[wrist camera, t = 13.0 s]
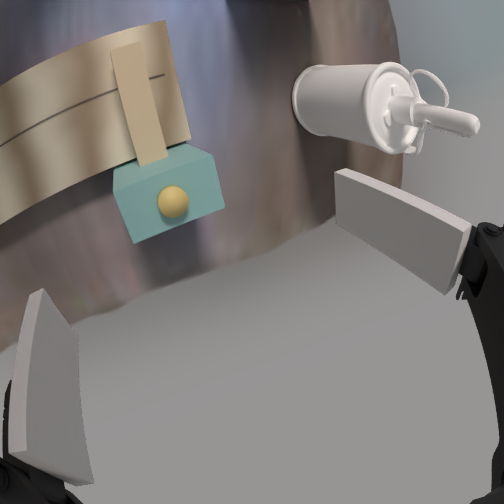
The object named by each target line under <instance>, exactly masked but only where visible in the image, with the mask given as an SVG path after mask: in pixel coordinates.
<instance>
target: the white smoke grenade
mask: <svg viewBox="0 0 504 504" xmlns="http://www.w3.org/2000/svg"><path fill="white" fill-rule="evenodd" d="M415 73H423V74H425V75H427V76H429V77H430V78H432V79H433V80H434V81H435V82H436V83H437V84H438V85H439V86H440V88H441V89H442V91H443V93H444V96H445V105H444V107H439V106H434V105H429V104H427V103H426V102H424V101H423V100H422V99H421V97H420V94H419V90H418V87H417V84H416V82H415V81H414V78H413V75H414V74H415ZM448 104H449V96H448V93H447V90H446V88H445V86H444V85H443V83H442V82H441V81H440V80H439V79H438V78H437V77H436V76H435V75H433V74H432V73H430V72H428V71H426V70H423V69H416V70H414V71H413V72H411V73H409V71H408V70H407V69H406V68H404V67H403V66H402V65H400V64H397V63H394V62H385V63H382V64H380V65H340V66H326V65H314V66H311V67H309V68H307V69H305V70H304V71H303V72H302V73H301V74H300V75H299V76H298V78H297V79H296V81H295V84H294V87H293V91H292V105H293V110H294V113H295V116H296V118H297V119H298V121H299V123H300V124H301V125H302V126H303V127H304V128H305V129H306V130H307V131H309V132H310V133H312V134H314V135H318V136H333V137H338V138H342V139H346V140H351V141H355V142H359V143H363V144H366V145H370V146H374V147H377V148H379V149H380V150H381V151H383V152H385V153H388V154H398V153H404V154H407V155H410V156H414V157H415V156H417V155H418V154H419V153H420V151H421V149H422V144H423V138H424V132H425V131H427V130H428V129H430V128H432V129H436V130H440V131H443V132H447V133H451V134H454V135H457V136H461V137H468V138H470V137H471V135H476V134H477V132H478V130H479V128H480V122H479V120H478V118H477V117H475V116H474V115H472V114H469V113H465V112H461V111H457V110H453V109H448V108H446V107H447V106H448ZM423 124H424V125H423ZM422 125H423V128H422V129H421V130H420V131H419V132H418V129H419V127H421V126H422ZM417 132H418V139H417V145H416V147H412V146H410V145H411V144H412V142H413V141H414V139H415V137H416V135H417Z"/></svg>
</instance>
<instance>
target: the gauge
mask: <svg viewBox="0 0 504 504" xmlns="http://www.w3.org/2000/svg"><path fill="white" fill-rule="evenodd" d="M110 56H111V61H112V65H113V70H114V74H115V79H116V83H117V87H118V91H119V95H120V99H121V103H122V107H123V111H124V115H125V118H126V122H127V126H128V129H129V133H130V136H131V140H132V143H133V147H134V150H135V153H136V157H137V158H134V159H132V160H129V161H127V162H124V163H122V164H119V165H117V166H114V173H113V194H114V196H115V199H116V202H117V204H118V207H119V209H120V212H121V215H122V217H123V220H124V222H125V224H126V227H127V229H128V232H129V234H130V236H131V239H132V241H133V243H134V244H135V243H138V242H140V241H142V240H145V239H147V238H150V237H152V236H154V235H157V234H159V233H162V232H164V231H167V230H169V229H172V228H174V227H176V226H179V225H182V224H184V223H187V222H189V221H192V220H194V219H197V218H199V217H202V216H205V215H207V214H210V213H212V212H215V211H218V210H220V209H223V208H225V205H224V201H223V197H222V192H221V188H220V184H219V180H218V175H217V171H216V167H215V163H214V158H213V155H211V154H209V153H207V152H204V151H202V150H200V149H198V148H195V147H193V146H191V145H188V144H186V143H184V142H180V143H177V144H174V145H171V146H168V147H166V145H165V141H164V138H163V134H162V130H161V126H160V122H159V119H158V115H157V111H156V107H155V103H154V99H153V94H152V90H151V86H150V82H149V77H148V73H147V69H146V64H145V59H144V55H143V50H142V45H141V41H139V42H135V43H132V44H128V45H125V46H122V47H118V48H115V49H112V50H110Z"/></svg>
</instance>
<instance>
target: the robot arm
mask: <svg viewBox="0 0 504 504" xmlns="http://www.w3.org/2000/svg"><path fill="white" fill-rule="evenodd" d="M334 180H335V205H336V224H337V225H339V226H340V227H342V228H344V229H345V230H347V231H348V232H350V233H352V234H353V235H355V236H357V237H358V238H360V239H362V240H363V241H365V242H366V243H368V244H369V245H371V246H372V247H374V248H376V249H377V250H379V251H380V252H382V253H383V254H385V255H386V256H388V257H390V258H391V259H393V260H394V261H396V262H397V263H399V264H400V265H402V266H403V267H405V268H406V269H408V270H409V271H411V272H412V273H414V274H415V275H416V276H418V277H419V278H421V279H422V280H424V281H425V282H426V283H428V284H429V285H431V286H432V287H434V288H435V289H436V290H438V291H439V292H441V293H442V294H443V295H446V294H447V293H448V292H449V291H450V290H451V289H452V288H453V287H454V285H455V282H456V279H457V276H458V273H459V274H461V275H462V276H463V277H462V280H461V283H460V286H459V289H458V291H457V294H456V300H459V297H460V295H461V292H463V291H464V293H463V295H462V300H465V299H467V300H468V303H469V306H470V308H471V311H472V314H473V317H474V320H475V323H476V326H477V329H478V333H479V336H480V339H481V343H482V346H483V350H484V354H485V358H486V361H487V366H488V370H489V374H490V378H491V383H492V388H493V394H494V399H495V405H496V412H497V419H498V428H499V438H500V439H499V444H498V447H497V448H496V450H495V452H494V455H493V459H492V489H491V492H490V493H488V494H487V495H486V496H484V497H482V498H478V499H475V500H473V501H472V502H471V503H470V504H504V226H503V227H498V226H496V225H494V224H491V223H487V222H483V223H479V224H478V227H474V226H472V224H470V223H468V222H467V221H464V220H463V219H461V218H459V217H457V216H455V215H453V214H451V213H449V212H447V211H445V210H443V209H441V208H439V207H437V206H435V205H433V204H431V203H429V202H427V201H425V200H422V199H420V198H418V197H416V196H414V195H411V194H409V193H407V192H405V191H402V190H400V189H398V188H395V187H393V186H391V185H388V184H386V183H383V182H381V181H378V180H376V179H373V178H371V177H368V176H366V175H363V174H361V173H358V172H355V171H353V170H350V169H347V168H345V169H342V170H338V171H335V172H334ZM4 407H5V409H4V414H3V418H4V420H3V459H2V458H1V457H0V504H83V503H82V502H81V501H80V500H78V498H77V497H75V496H74V495H73V494H72V493H71V492H70V491H68V490H66V489H65V487H64V482H67V483H69V484H72V485H74V486H81V485H88V484H93V483H94V479H93V475H92V471H91V466H90V461H89V456H88V451H87V446H86V439H85V433H84V425H83V418H82V409H81V399H80V387H79V367H78V335H77V334H76V333H75V332H74V330H73V329H72V327H71V326H70V325H69V324H68V322H67V321H66V319H65V318H64V317H63V315H62V314H61V313H60V311H59V310H58V308H57V307H56V306H55V304H54V303H53V301H52V300H51V298H50V297H49V295H48V294H47V292H46V291H45V289H44V288H42V289H40V290H38V291H36V292H34V293H32V294H30V296H29V299H28V303H27V306H26V310H25V314H24V318H23V322H22V326H21V331H20V335H19V340H18V345H17V350H16V357H15V362H14V369H13V376H12V380H10V382H9V384H8V387H7V390H6V392H5V400H4Z"/></svg>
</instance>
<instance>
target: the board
mask: <svg viewBox="0 0 504 504" xmlns="http://www.w3.org/2000/svg"><path fill="white" fill-rule="evenodd" d="M139 41H141V45H142V50H143V55H144V59H145V64H146V69H147V73H148V77H149V82H150V86H151V90H152V94H153V99H154V103H155V107H156V111H157V115H158V119H159V122H160V126H161V130H162V134H163V138H164V141H165V145H166V147H168V146H171V145H174V144H177V143H180V142H183V141H186V140H189V139H191V135H190V131H189V126H188V122H187V118H186V114H185V110H184V105H183V101H182V97H181V92H180V88H179V84H178V79H177V75H176V70H175V66H174V61H173V56H172V52H171V47H170V42H169V37H168V32H167V28H166V23H165V20H163V21H159V22H154V23H150V24H145V25H141V26H137V27H134V28H130V29H126V30H123V31H120V32H116V33H113V34H110V35H107V36H104V37H101V38H98V39H95V40H92V41H90V42H87V43H84V44H82V45H79V46H77V47H74V48H72V49H69V50H67V51H65V52H62V53H60V54H58V55H56V56H54V57H52V58H49V59H47V60H45V61H43V62H41V63H39V64H37V65H35V66H34V67H32V68H30V69H28V70H26V71H24V72H23V73H21V74H19V75H17V76H16V77H14V78H12V79H10V80H9V81H7V82H6V83H4V84H2V85H1V86H0V225H1V224H2V223H4V222H5V221H7V220H9V219H10V218H12V217H14V216H15V215H17V214H19V213H20V212H22V211H24V210H26V209H27V208H29V207H31V206H33V205H35V204H36V203H38V202H40V201H42V200H44V199H46V198H48V197H50V196H51V195H53V194H55V193H57V192H59V191H61V190H63V189H65V188H67V187H69V186H71V185H74V184H76V183H78V182H80V181H82V180H84V179H86V178H89V177H91V176H93V175H95V174H98V173H100V172H102V171H105V170H107V169H109V168H112V167H114V166H117V165H119V164H122V163H124V162H127V161H129V160H132V159H134V158H137V157H136V153H135V150H134V147H133V143H132V140H131V136H130V133H129V129H128V126H127V122H126V118H125V115H124V111H123V107H122V103H121V99H120V95H119V91H118V87H117V83H116V79H115V74H114V70H113V65H112V61H111V56H110V50H112V49H115V48H118V47H122V46H125V45H128V44H132V43H135V42H139Z"/></svg>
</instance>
